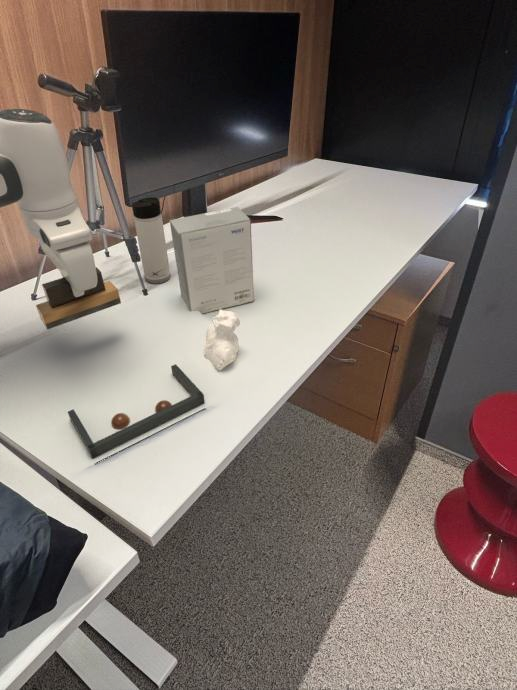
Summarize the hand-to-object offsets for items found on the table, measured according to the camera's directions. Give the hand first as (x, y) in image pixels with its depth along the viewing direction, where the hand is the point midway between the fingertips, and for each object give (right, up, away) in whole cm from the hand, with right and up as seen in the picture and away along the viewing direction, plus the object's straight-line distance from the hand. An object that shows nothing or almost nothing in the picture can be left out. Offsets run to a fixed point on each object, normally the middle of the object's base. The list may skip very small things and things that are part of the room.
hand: (75, 290), depth 87 cm
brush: (0, -4, +3) cm, 5 cm away
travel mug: (+8, +7, +32) cm, 34 cm away
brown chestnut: (+10, -23, -8) cm, 26 cm away
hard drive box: (+24, 0, +24) cm, 33 cm away
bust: (+26, -12, +7) cm, 30 cm away
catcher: (+13, -22, -5) cm, 26 cm away
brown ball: (+17, -21, -6) cm, 28 cm away
